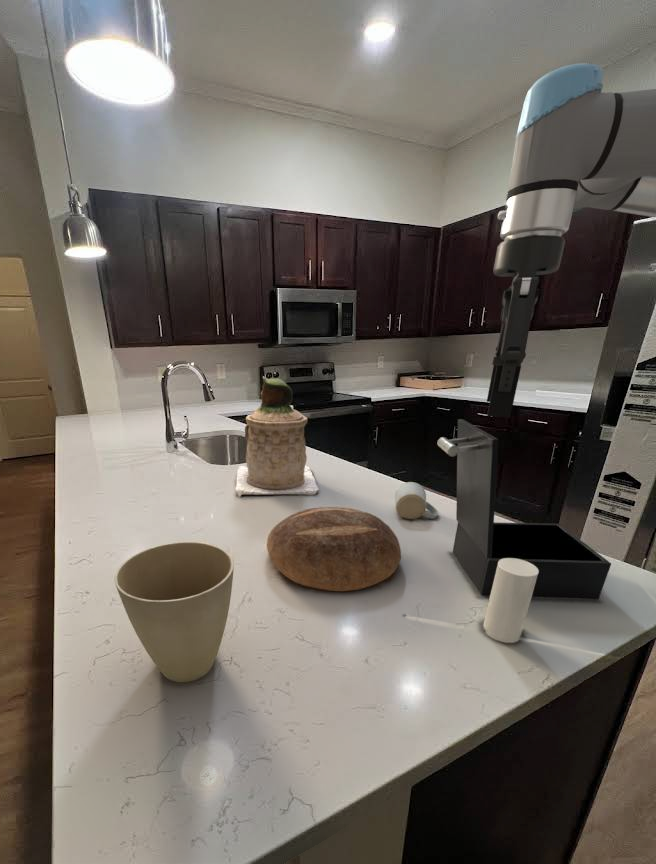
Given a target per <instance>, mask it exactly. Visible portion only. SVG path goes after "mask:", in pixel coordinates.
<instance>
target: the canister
mask: <svg viewBox="0 0 656 864" xmlns="http://www.w3.org/2000/svg"><path fill="white" fill-rule="evenodd" d="M538 573H539V570H538V568H537V567H536V566H534V565H533V564H531V563H529V562H527V561H524V560H521V559H516V558H503V559H501V560H499V561H498V564H497V569H496V573H495V577H494V581H493V586H492V590H491V594H490V596H489V600H488V604H487V607H486V611H485V616H484V620H483V623H482V624H483V625H482V626H483V632H484V633H485V634H486V635H487V636H488V637H490V638H492V639H493V640H496V641H498V642H501V643H506V644H513V643H514V644H515V643H517V642H519V641H520V639H521V637H522V633H523V629H524V626H525V622H526V620H527V619H526V618H527V615H528V611H529V608H530V606H531V601H532V598H533V597H532V595H533V591H534V587H535V584H536V580H537V577H538Z"/></svg>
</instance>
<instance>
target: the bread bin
mask: <svg viewBox="0 0 656 864" xmlns="http://www.w3.org/2000/svg"><path fill="white" fill-rule="evenodd" d="M452 555H454V557H455V558H456V560H457V561H458V563H459V565H460V566H461V568H462V569H463V571H464V572H465V573H466V575H467V576H468V578H469V579H470V581H471V582H472V584H473V585H474V587H475V589H476V590H477V591H478V593H479V595H480V596H486V597H487V596H489V597H490V594H491V590H492V586H493V581H494V577H495V573H496V569H497V564H498V561H499V560H501V559H503V558H516V559H521V560H524V561H527V562H529V563H531V564H533V565H534V566H536V567H537V568H538V570H539V573H538V577H537V580H536V584H535V587H534V591H533V595H532V598H546V599H547V598H549V599H553V598H554V599H580V600H581V599H583V600H584V599H585V600H599V599H600V596H601V594H602V591H603V589H604V585H605V583H606V580H607V577H608V574H609V571H610V568H611V566H612V563H611V562H610V561H609V560H607V559H606V558H605V557H603V555H601V554H600V553H598V552H597V551H596V550H594V549H593V548H592V547H591V546H589V545H588V544H587V543H585V542H584V541H583V540H581V539H580V538H579V537H577V536H576V535H575V534H574V533H572V532H571V531H569V529H567V528H565V527H564V526H562V525H561V524H560V523H543V522H540V523H539V522H537V523H536V522H495V521H494V527H493V546H492V558H487V557H486V556H485V555H484V554H483V552H482V551H481V550H480V549H479V547H478V546H477V545H476V544H475V542H474V541H473V540H472V539H471V537H470V536H469V535H468V534H467V532H466V531H465V530H464V529H463V527H462V526H461V525H460V524H459V522H458V521H457V525H456V531H455V536H454V542H453V547H452Z"/></svg>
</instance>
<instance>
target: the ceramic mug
mask: <svg viewBox="0 0 656 864" xmlns="http://www.w3.org/2000/svg"><path fill="white" fill-rule="evenodd" d="M394 502H395V510H396V512H397V514H398V515H399V516H400V517H401V518H403V519H406V520H414V519H415V520H417V519H419V518H421V517H422V516H423V517H425V518H427V519H429V520H434V519H436V518H437V517H438V515H439V511H438V509H437V508H436V507H435V506H434V505H432V504H431V503H429V501H427V494H426V490H425V488H424V487H423V486H422V485H421V484H419V483H417V482H415V481H414V482H413V481H408V482H407V481H406V482H403V483H401V484H400V485H399V486H398V487H397V489H396V490H395V493H394Z"/></svg>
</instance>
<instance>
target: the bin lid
mask: <svg viewBox="0 0 656 864" xmlns="http://www.w3.org/2000/svg"><path fill="white" fill-rule="evenodd" d="M436 444H437V446H438V448H440V449H441V450H442V451H444V452H445V453H446V454H447V455H448V456H449V457H455V456H456V512H455V513H456V517H455V518H456V521H457V523H458V522H459V524H460V525H461V526H462V527H463V529H464V530H465V531H466V532H467V534H468V535H469V536H470V537H471V539H472V540H473V541H474V542H475V544H476V545H477V546H478V547H479V549H480V550H481V551H482V552H483V554H484V555H485V556H486V557H487V558H492V546H493V527H494V522H495V507H496V506H495V505H496V488H497V469H498V468H497V467H498V451H499V449H498V448H499V439H498V438H497V437H496V436H493V435H492V434H490V433H488V432H486V431H485V430H483V429H481V428H479V427H477V426H476V425H474V424H473V423H470V422H468V421H466V420H465V419H463V418H459V419H457V438H452V439H448V438H447V437H445V436H442V437H439V439H438V440H437V443H436ZM456 444H457V445H456Z"/></svg>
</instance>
